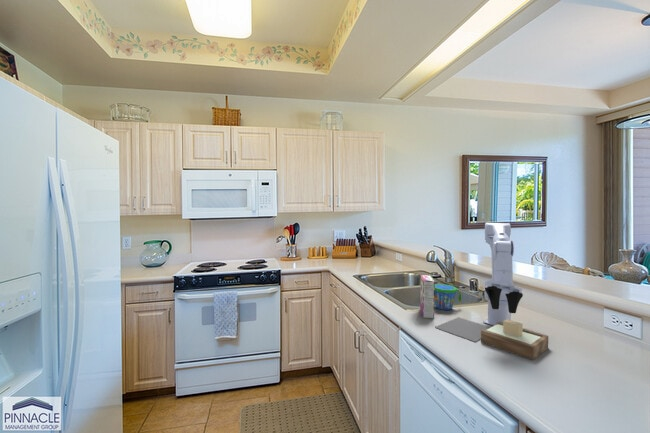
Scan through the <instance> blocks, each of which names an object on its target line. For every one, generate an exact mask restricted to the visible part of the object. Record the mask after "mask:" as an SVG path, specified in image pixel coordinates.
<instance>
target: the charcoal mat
mask: <svg viewBox="0 0 650 433" xmlns="http://www.w3.org/2000/svg"><path fill="white" fill-rule="evenodd" d="M491 327H492V326H488V325H486V324H485V325H484V324H481V323H478V322H475V321H471V320H468V319H465V318H461V317H459V316H458V317H456V318H453V319H451V320H449V321H447V322H444V323H441V324H438V325H436V326H434V328H435V329H438V330H439V331H440V330H441V331H443V332H445V333H449V334H451V335H453V336H457V337H459V338H461V339H465V340H468V341H470V342H473V343H477V342H478V341H481V330H483V329H484V330H487V329H489V328H491Z"/></svg>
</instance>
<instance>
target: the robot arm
mask: <svg viewBox="0 0 650 433" xmlns="http://www.w3.org/2000/svg"><path fill="white" fill-rule="evenodd" d="M511 229H512V228H511V224H510V222H507V223H505V222H485V224H484V241H485V243H487V244H488V245H489V247H490V250H491V251H490V252H491V253H490V254H491V278H489V279H488V280H484V281H485V284H484V299H485V300H486V301H487V319H485V320H483V323H484V324H488V325H490V326H492V327H493V326H495V325H497V322H498V321H499V322H502V323H503V321H504V320H506V319H508V320H511V321H512V314H516V313H517V310H518V306H519V303H520V301H521V299H522V298H523V296H524V294H523V293H522V288H520V287H518V286H516V284H514V279H513V278H514V277H513V276H514V274H513V272H514V271H513V257H514V252H515V246H514V245H515V244H514V241H513V240H510V238H511V232H512V231H511Z"/></svg>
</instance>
